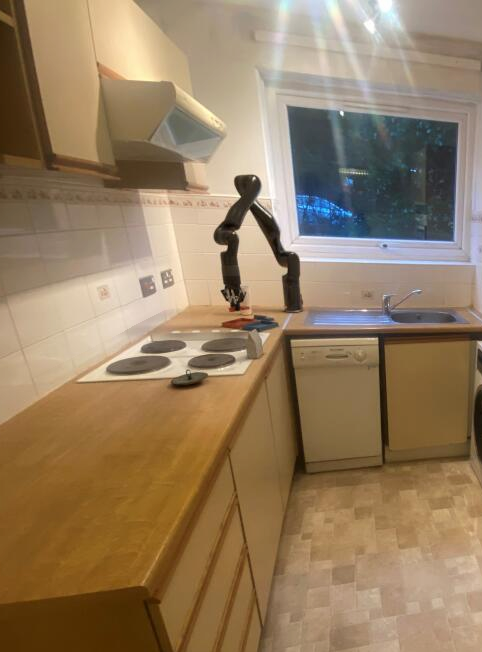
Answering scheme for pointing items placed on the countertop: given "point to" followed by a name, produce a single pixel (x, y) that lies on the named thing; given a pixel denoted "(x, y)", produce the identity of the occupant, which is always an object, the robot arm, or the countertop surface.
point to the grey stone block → (254, 345)
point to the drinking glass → (246, 300)
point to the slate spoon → (263, 318)
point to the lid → (189, 378)
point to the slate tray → (260, 325)
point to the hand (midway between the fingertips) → (235, 310)
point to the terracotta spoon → (232, 309)
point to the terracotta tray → (238, 322)
